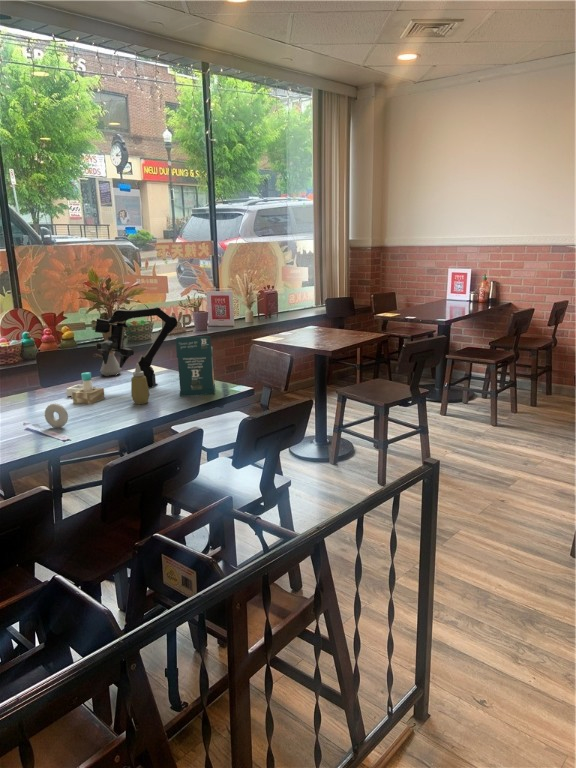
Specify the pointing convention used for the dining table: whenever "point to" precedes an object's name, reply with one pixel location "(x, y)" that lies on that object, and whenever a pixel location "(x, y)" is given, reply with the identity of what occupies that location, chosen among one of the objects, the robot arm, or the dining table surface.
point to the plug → (87, 382)
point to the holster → (73, 389)
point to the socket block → (88, 395)
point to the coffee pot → (110, 365)
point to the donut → (61, 412)
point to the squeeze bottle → (139, 387)
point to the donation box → (195, 365)
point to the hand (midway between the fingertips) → (112, 366)
